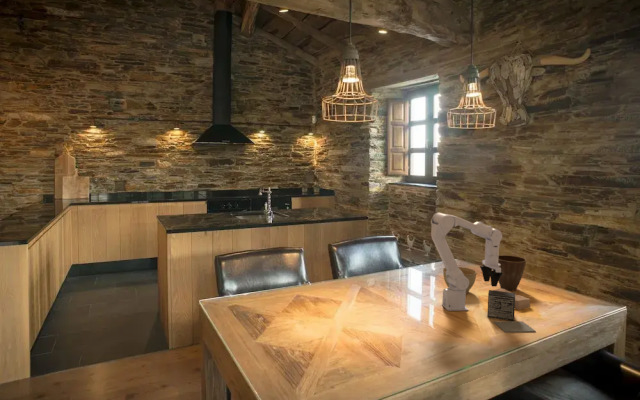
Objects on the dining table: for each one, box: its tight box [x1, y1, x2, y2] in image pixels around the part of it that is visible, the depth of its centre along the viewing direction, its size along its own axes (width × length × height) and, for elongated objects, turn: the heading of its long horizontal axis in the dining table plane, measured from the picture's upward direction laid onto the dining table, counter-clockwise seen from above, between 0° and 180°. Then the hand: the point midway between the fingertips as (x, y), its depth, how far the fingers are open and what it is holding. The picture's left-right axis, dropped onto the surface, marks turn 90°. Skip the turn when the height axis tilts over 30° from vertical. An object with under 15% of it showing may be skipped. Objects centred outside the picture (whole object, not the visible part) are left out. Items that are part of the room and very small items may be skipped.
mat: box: [493, 320, 536, 333], centre depth 166 cm, size 12×10×1 cm
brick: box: [493, 287, 531, 311], centre depth 195 cm, size 17×8×5 cm, turn 26°
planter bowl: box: [442, 266, 478, 294], centre depth 210 cm, size 16×16×11 cm
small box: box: [486, 289, 516, 321], centre depth 177 cm, size 11×6×10 cm, turn 65°
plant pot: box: [498, 254, 527, 292], centre depth 216 cm, size 15×15×16 cm
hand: (490, 283), depth 189 cm, fingers open, 7 cm apart
